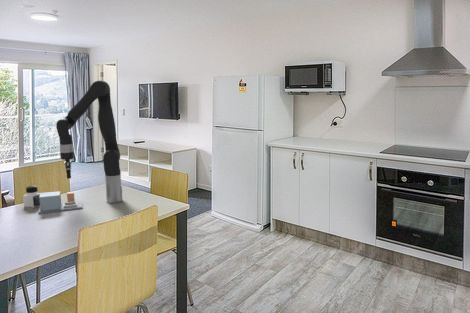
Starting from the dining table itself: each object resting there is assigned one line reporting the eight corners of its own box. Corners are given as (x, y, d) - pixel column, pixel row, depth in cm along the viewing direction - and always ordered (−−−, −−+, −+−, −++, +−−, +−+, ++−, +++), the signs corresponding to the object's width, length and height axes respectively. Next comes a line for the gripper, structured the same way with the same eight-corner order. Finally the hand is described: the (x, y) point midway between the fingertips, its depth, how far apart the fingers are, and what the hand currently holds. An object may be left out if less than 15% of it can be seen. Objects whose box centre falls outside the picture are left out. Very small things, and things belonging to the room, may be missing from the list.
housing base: (81, 203, 222) (81, 199, 221) (82, 208, 211) (82, 205, 211) (40, 207, 212) (39, 204, 212) (38, 213, 201) (38, 210, 201)
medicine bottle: (34, 207, 213) (32, 188, 211) (23, 206, 214) (21, 187, 212) (42, 204, 220) (40, 185, 218) (32, 203, 221) (30, 184, 219)
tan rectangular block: (74, 200, 227) (73, 191, 226) (74, 202, 224) (74, 193, 223) (67, 201, 226) (66, 192, 225) (67, 203, 222) (66, 193, 221)
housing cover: (61, 204, 216) (60, 191, 214) (60, 208, 207) (59, 195, 206) (41, 206, 211) (40, 193, 210) (40, 211, 203) (39, 197, 201)
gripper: (73, 152, 214) (75, 178, 217) (73, 149, 227) (75, 174, 229) (59, 153, 211) (62, 180, 214) (60, 150, 224) (62, 175, 226)
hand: (68, 177), depth 222 cm, fingers open, 8 cm apart
